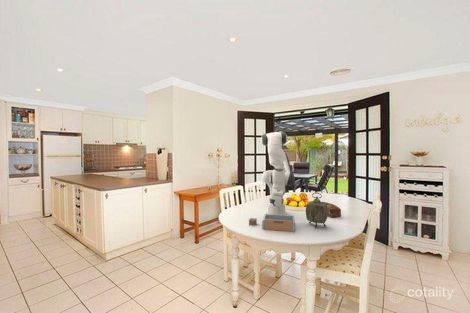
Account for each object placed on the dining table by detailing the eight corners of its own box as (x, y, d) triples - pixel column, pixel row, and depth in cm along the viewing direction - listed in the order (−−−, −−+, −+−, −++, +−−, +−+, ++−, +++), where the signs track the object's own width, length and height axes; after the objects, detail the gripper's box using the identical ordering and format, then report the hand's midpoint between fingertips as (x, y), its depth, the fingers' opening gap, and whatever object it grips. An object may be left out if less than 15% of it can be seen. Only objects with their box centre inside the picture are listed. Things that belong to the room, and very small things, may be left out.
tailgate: (264, 228, 154) (264, 218, 154) (292, 231, 149) (292, 220, 149) (264, 229, 152) (264, 219, 152) (292, 231, 148) (292, 221, 148)
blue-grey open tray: (264, 223, 170) (264, 213, 170) (294, 225, 165) (294, 215, 165) (262, 230, 153) (262, 220, 153) (295, 233, 148) (295, 223, 148)
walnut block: (250, 224, 167) (250, 217, 167) (256, 225, 166) (256, 218, 166) (249, 226, 162) (249, 220, 162) (255, 227, 161) (255, 220, 161)
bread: (316, 212, 200) (316, 201, 200) (326, 211, 203) (326, 200, 203) (331, 218, 182) (331, 206, 182) (341, 217, 185) (341, 205, 185)
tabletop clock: (327, 226, 163) (328, 192, 162) (326, 230, 155) (326, 194, 154) (307, 223, 170) (308, 190, 169) (305, 226, 162) (305, 192, 162)
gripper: (275, 189, 168) (275, 207, 168) (273, 193, 148) (273, 213, 148) (283, 189, 166) (283, 207, 166) (283, 193, 146) (283, 214, 146)
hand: (278, 210), depth 157 cm, fingers closed
